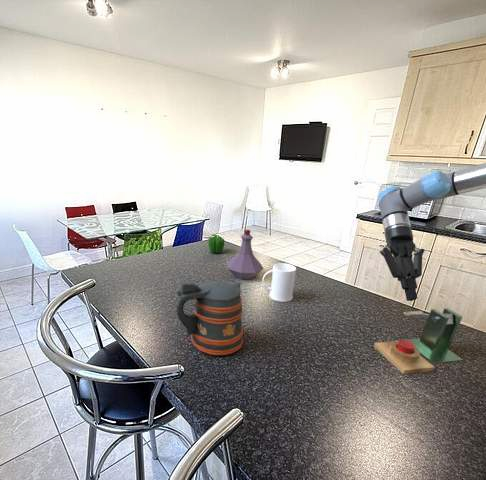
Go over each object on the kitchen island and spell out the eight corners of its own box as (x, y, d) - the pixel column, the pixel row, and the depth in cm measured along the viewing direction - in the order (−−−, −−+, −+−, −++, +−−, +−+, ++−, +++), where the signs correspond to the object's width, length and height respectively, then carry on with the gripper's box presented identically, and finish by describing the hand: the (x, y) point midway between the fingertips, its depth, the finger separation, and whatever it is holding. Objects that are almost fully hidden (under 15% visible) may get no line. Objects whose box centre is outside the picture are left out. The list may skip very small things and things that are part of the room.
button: (405, 345, 78) (407, 339, 77) (416, 353, 75) (418, 348, 74) (393, 346, 77) (395, 340, 77) (403, 354, 74) (405, 349, 73)
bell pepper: (224, 250, 158) (225, 232, 154) (223, 255, 150) (224, 236, 146) (209, 249, 159) (209, 231, 155) (207, 254, 151) (207, 235, 147)
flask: (259, 285, 118) (264, 237, 110) (220, 279, 123) (222, 233, 115) (265, 270, 132) (270, 227, 124) (230, 265, 137) (232, 223, 129)
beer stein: (191, 369, 72) (191, 298, 64) (169, 338, 84) (166, 275, 76) (253, 347, 81) (259, 282, 73) (224, 321, 93) (227, 263, 85)
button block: (399, 346, 83) (403, 335, 81) (432, 374, 73) (437, 361, 71) (372, 349, 82) (376, 337, 80) (402, 377, 72) (406, 364, 70)
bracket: (402, 342, 85) (416, 304, 80) (429, 340, 86) (444, 302, 81) (431, 366, 76) (448, 324, 70) (461, 363, 77) (480, 322, 72)
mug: (261, 301, 106) (264, 270, 101) (259, 290, 114) (262, 261, 109) (294, 302, 105) (299, 272, 100) (290, 292, 113) (294, 263, 108)
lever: (401, 318, 87) (401, 310, 87) (419, 317, 87) (419, 309, 87) (439, 324, 75) (439, 315, 75) (459, 323, 75) (459, 314, 75)
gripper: (410, 236, 99) (426, 304, 90) (371, 235, 99) (383, 302, 91) (425, 225, 92) (443, 296, 83) (383, 223, 92) (396, 294, 84)
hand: (412, 299), depth 87 cm, fingers closed
